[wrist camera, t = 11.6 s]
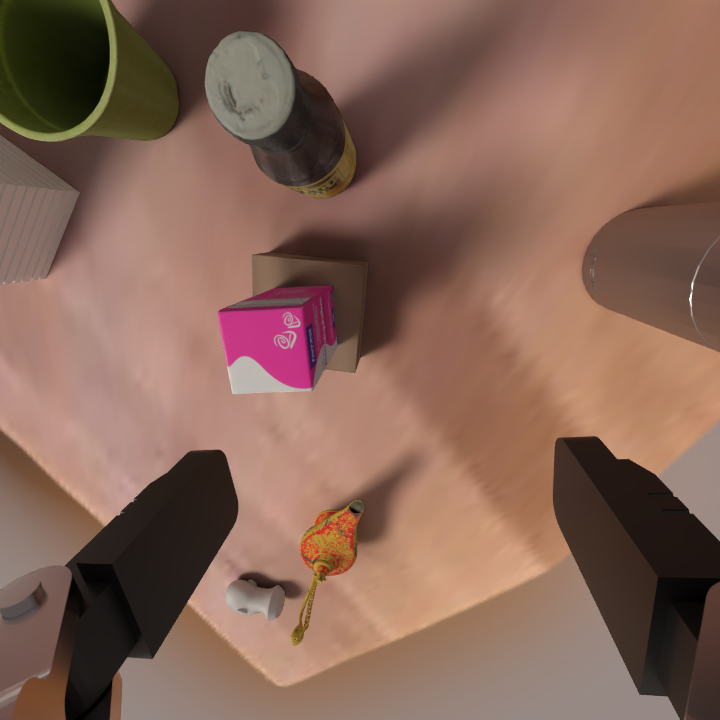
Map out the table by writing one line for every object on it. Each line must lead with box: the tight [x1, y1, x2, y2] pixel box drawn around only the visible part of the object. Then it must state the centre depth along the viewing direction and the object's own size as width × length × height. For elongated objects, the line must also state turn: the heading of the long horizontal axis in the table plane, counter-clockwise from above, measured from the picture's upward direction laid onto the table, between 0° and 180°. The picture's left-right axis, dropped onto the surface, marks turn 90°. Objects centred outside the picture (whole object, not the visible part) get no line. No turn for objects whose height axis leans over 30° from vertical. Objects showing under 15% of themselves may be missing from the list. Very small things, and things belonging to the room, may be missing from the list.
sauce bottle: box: [205, 31, 356, 199], centre depth 25 cm, size 7×6×20 cm
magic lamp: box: [291, 499, 365, 646], centre depth 42 cm, size 7×18×11 cm, turn 157°
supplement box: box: [218, 285, 338, 394], centre depth 29 cm, size 6×6×12 cm
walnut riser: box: [252, 252, 369, 373], centre depth 37 cm, size 10×10×5 cm
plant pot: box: [0, 0, 179, 142], centre depth 29 cm, size 12×12×11 cm
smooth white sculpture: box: [225, 579, 285, 621], centre depth 52 cm, size 4×8×5 cm
